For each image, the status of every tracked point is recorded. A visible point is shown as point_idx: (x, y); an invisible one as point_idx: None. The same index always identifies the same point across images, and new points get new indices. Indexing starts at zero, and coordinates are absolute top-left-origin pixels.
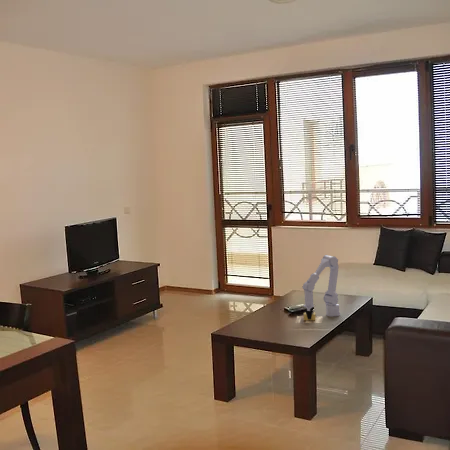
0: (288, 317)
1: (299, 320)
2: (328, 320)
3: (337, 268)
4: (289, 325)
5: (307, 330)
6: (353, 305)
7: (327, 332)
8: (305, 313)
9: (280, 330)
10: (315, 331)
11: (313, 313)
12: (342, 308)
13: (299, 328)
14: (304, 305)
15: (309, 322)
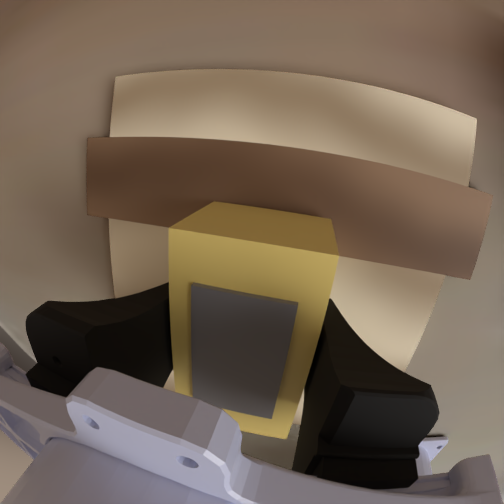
0: (479, 14)
1: (226, 125)
2: (272, 440)
3: None
4: (112, 22)
5: (6, 224)
6: (501, 492)
7: (17, 342)
8: (245, 281)
9: (22, 10)
10: (6, 280)
11: (232, 410)
12: (499, 475)
13: (29, 151)
14: (129, 451)
15: (129, 271)
